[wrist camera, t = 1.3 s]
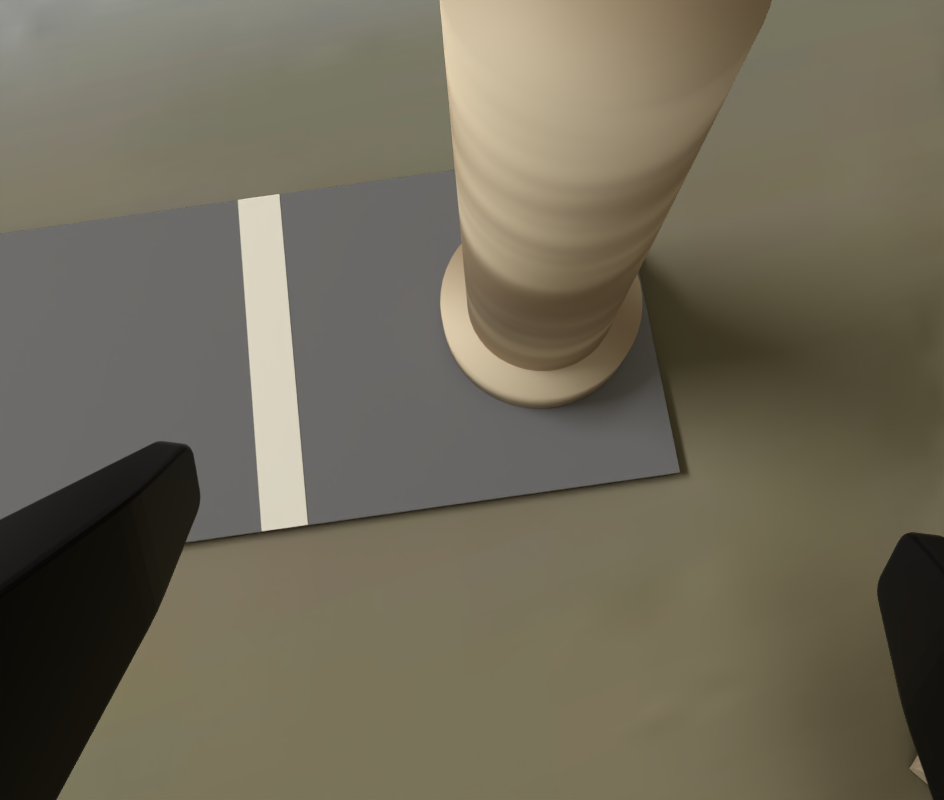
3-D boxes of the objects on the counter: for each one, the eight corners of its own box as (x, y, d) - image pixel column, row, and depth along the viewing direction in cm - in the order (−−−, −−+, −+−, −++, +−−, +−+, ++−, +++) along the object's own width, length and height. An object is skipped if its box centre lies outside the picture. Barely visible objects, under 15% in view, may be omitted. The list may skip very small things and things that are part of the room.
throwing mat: (613, 152, 25) (614, 147, 24) (677, 473, 22) (680, 472, 22) (-91, 251, 25) (-99, 247, 24) (-103, 583, 22) (-112, 583, 22)
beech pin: (583, 442, 22) (729, 245, 9) (410, 356, 23) (292, 52, 9) (663, 276, 23) (905, -129, 10) (495, 200, 24) (502, -276, 10)
